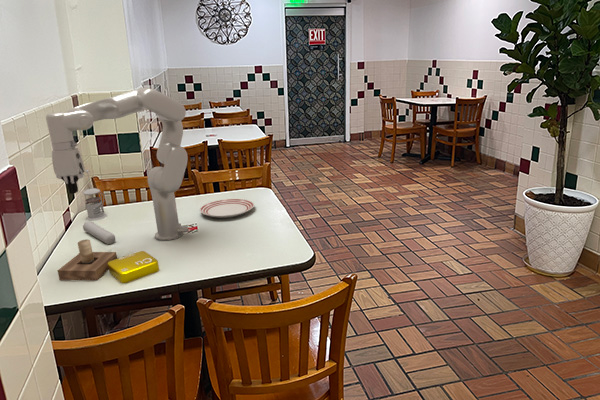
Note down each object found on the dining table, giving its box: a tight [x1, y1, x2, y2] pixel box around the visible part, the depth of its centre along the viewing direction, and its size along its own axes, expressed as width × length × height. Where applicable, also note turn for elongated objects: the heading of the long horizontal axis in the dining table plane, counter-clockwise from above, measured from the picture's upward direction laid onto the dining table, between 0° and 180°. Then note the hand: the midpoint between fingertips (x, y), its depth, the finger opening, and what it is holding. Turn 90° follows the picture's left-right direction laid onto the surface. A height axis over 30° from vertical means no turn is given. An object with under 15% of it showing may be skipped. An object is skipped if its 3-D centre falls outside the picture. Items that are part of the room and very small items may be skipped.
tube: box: [82, 220, 116, 245], centre depth 212 cm, size 5×5×25 cm
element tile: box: [108, 250, 160, 284], centre depth 178 cm, size 15×15×5 cm
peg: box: [77, 239, 94, 264], centre depth 179 cm, size 4×4×12 cm
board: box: [57, 251, 118, 281], centre depth 181 cm, size 15×16×4 cm
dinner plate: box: [199, 198, 255, 219], centre depth 236 cm, size 28×27×3 cm
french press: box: [82, 169, 108, 222], centre depth 236 cm, size 10×12×25 cm
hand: (73, 192), depth 180 cm, fingers closed
